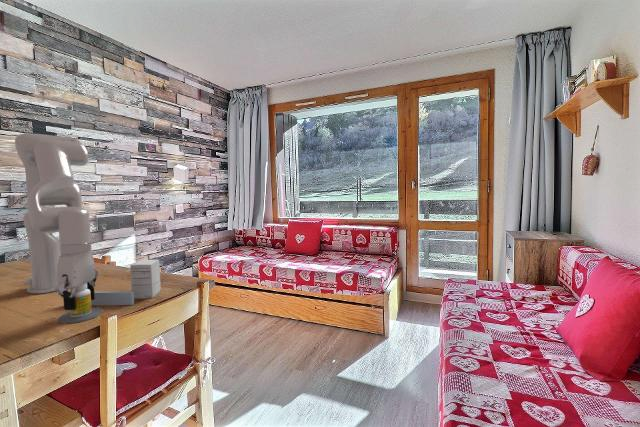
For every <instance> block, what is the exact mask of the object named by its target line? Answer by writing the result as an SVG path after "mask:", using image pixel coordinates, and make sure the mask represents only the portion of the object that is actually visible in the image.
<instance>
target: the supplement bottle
mask: <svg viewBox="0 0 640 427" xmlns="http://www.w3.org/2000/svg"><path fill="white" fill-rule="evenodd" d="M74 296H76V309H75V310H69V312H70V316H71V317H82V316H86V315H88V314H90V313H91V311H92V309H91V308H92V305H91V292H90V290H89V289H87V283H85V284H83V285H81V286H79V287H76V290H75V293H74Z"/></svg>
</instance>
